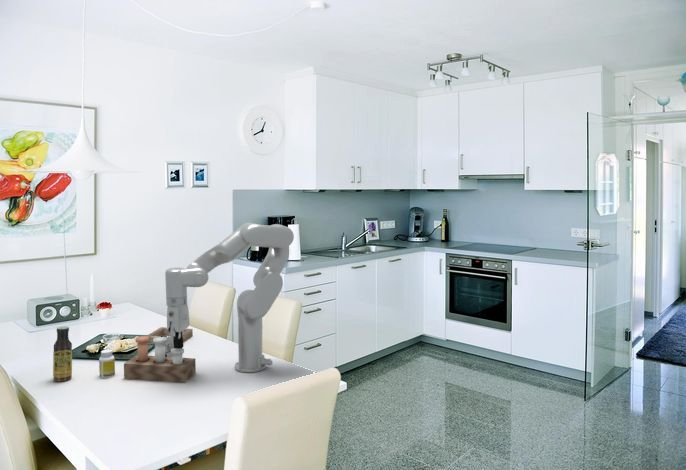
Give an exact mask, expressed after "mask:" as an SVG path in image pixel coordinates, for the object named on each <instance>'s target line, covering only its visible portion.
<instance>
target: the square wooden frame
mask: <svg viewBox="0 0 686 470" xmlns="http://www.w3.org/2000/svg"><path fill="white" fill-rule="evenodd" d="M193 331H194V330H193V328H186V329H185V330H184V336H183V344H184V343H185V342H187V341H188V340H189V339H191V338H192V337H193V336H194V335H193V334H194V333H193ZM146 336H148V337H149V341H148V343H153V339H154V338H157V337H161V336H162V337H165V338H166V337H170V332H168V330H167V326H166V327H162V326H161V327H158V328H157V329H156V330H154V331H153V332H150V333H149V334H147V335H146Z"/></svg>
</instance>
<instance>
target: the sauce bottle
mask: <svg viewBox="0 0 686 470" xmlns="http://www.w3.org/2000/svg"><path fill="white" fill-rule="evenodd" d="M69 331H70V326H64V325H63V326H59V327H56V341H55V342H54V344H53V357H52V358H53V359H52V360H53V361H52V370H53V371H52V373H53V374H52V376H53V381H55V382H58V383H59V382H66V381H70V379H72V376H73V343H72V342H71V341H70V339H69V338H70V337H69Z"/></svg>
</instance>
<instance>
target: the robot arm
mask: <svg viewBox="0 0 686 470" xmlns="http://www.w3.org/2000/svg"><path fill="white" fill-rule="evenodd" d="M294 239H295V236H294V232H293V230H292V229H291V227H288V226H285V225H282V224H280V223H279V224H278V223H275V224H271V225H268V224H267V225H265V224H258V223H254V222H245V223H243V224H241V226H239V227H238V228H237V229H235V230H234V231H233V232H231V233H230V234H229V235H228V236H227V237H225V238H224V239H223V240H222V241H220V242H219V243H218V244H216V245H214V246H212V247H211V248H210V249H208V250H206V251H205V252H204V253H202V254H200V256H198V257H197V258H195V260H193V261H192V262H191V263H190V264H188V265H187V266H186V268H184V267H170V268H167V269H166V270H165V271H164V273H165V274H164V275H165V277H164V278H165V280H164V281H165V298H166V299H165V300H166V301H165V302H166V305H165V306H167V310H166V311H167V312H166V328H167V330H168V332H170V336H173V343H174V348H176V349H181V348H184V343H183V336H184V330H185V329H188V328H189V326H190V314H189V313H190V312H189V306H188V291H187V290H188V288H202V287H204V286H205V285H207V284H208V281H209V273H211V272H212V270H215V268H217V267H218V266H221V265H224V264H228V263H231V262H233V261H235V260H236V259H237V258H238V257H240V255H241V254H243V253H244V252H245V251H246V250H248V249H249V248H250V247H252V246H253V247H259V248H268V251H267V254H266V256H265V257H264V260H263V261H262V262H261V264H260V265H259V267H258V269H257V271H255V273H254V275H253V279H252V281H253V284H254V286H255V287H254V289H245V290H243V291H241V293H239V295H238V298H237V299H236V300H237V301H236V311H237V323H238V325H237V326H238V337H237V338H238V342H237V343H238V361H237V362H235V364H234V369H235V371H237V372H241V373H256V372H260V371H263V370H264V369H266V368H267V366H272V365H273V359H271V358H266V357H265V354H263V318H264V317H265V316H266V315H267V314H268V312H269V311H270V309H271V308H272V306H273V304H274V303H275V301H276V300H277V298H278V297H279V295H280V293H281V292H282V288H283V286H284V281H283V277H282V276H281V274H282V272H283V270H284V269H285V266H286V264H287V262H288V260H289V257H290V246H291V245H292V244H293V241H294ZM170 336H169V337H170Z"/></svg>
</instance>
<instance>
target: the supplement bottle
mask: <svg viewBox="0 0 686 470" xmlns="http://www.w3.org/2000/svg"><path fill="white" fill-rule="evenodd" d="M98 362H99V366H98V368H99V369H98V371H99V377H100V378H101V379H102V378H103V379H108V378H112V377H114V376H116V375H115V374H116V366H115V365H116V364H115V363H116V359H115V356H114V355H113V350H112V349H109V348H107V349H104V350H101V351H100V357H99V359H98Z"/></svg>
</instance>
